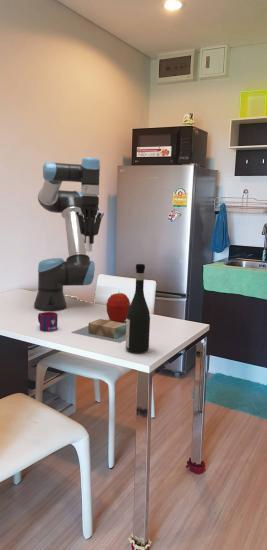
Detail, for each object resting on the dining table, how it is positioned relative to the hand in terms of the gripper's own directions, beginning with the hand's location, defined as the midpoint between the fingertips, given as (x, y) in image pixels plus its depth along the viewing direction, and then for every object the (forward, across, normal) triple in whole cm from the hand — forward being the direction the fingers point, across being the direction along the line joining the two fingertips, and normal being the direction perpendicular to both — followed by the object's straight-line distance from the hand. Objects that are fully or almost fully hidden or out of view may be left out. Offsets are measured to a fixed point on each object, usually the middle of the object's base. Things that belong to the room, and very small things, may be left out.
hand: (88, 251), depth 185 cm
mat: (+29, +20, -17) cm, 39 cm away
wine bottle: (+30, +39, -26) cm, 55 cm away
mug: (+30, -2, -25) cm, 39 cm away
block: (+27, +15, -17) cm, 35 cm away
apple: (+30, +15, +1) cm, 33 cm away
